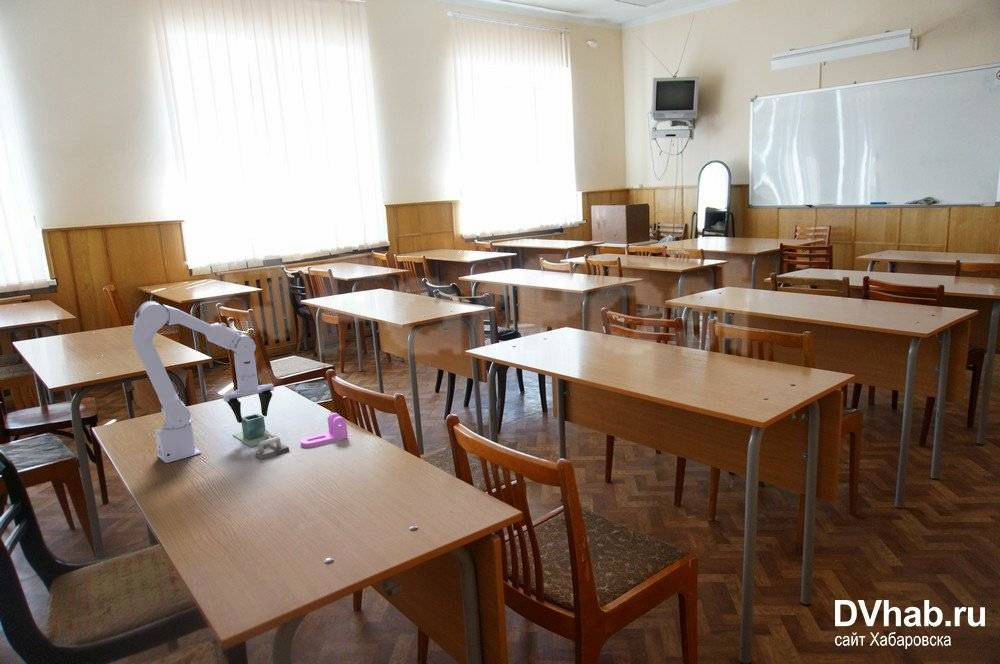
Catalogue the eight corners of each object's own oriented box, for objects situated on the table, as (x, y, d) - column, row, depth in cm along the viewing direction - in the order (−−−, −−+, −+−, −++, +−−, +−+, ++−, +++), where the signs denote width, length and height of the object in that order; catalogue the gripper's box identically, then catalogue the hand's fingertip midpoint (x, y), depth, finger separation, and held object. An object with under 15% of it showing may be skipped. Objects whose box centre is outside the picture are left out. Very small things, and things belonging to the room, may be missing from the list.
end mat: (251, 446, 194) (251, 445, 193) (232, 435, 204) (232, 434, 204) (277, 439, 199) (277, 437, 199) (258, 428, 209) (258, 427, 209)
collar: (249, 440, 198) (247, 421, 196) (243, 436, 201) (240, 417, 200) (266, 435, 201) (263, 416, 200) (259, 432, 205) (257, 413, 203)
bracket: (341, 433, 201) (339, 411, 200) (348, 438, 197) (345, 416, 195) (298, 443, 194) (295, 421, 193) (304, 449, 190) (301, 426, 188)
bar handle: (261, 459, 183) (259, 444, 183) (245, 449, 192) (243, 434, 191) (289, 451, 189) (287, 436, 188) (271, 441, 197) (270, 427, 196)
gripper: (227, 382, 190) (233, 428, 192) (275, 372, 199) (281, 415, 202) (218, 378, 195) (224, 422, 197) (266, 368, 204) (271, 410, 207)
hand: (252, 418), depth 200 cm, fingers open, 7 cm apart
